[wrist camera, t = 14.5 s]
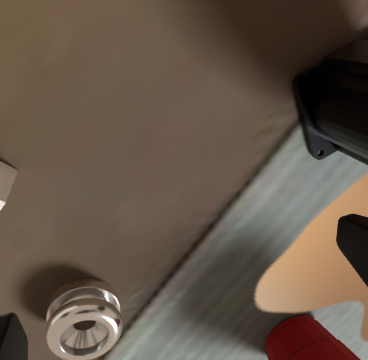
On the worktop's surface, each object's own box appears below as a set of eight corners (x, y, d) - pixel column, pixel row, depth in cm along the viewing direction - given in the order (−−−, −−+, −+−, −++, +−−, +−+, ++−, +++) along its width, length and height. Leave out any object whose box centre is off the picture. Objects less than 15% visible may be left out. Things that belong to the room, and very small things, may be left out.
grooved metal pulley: (124, 319, 27) (111, 270, 24) (129, 351, 24) (115, 299, 22) (57, 339, 26) (38, 289, 23) (55, 375, 23) (33, 323, 21)
